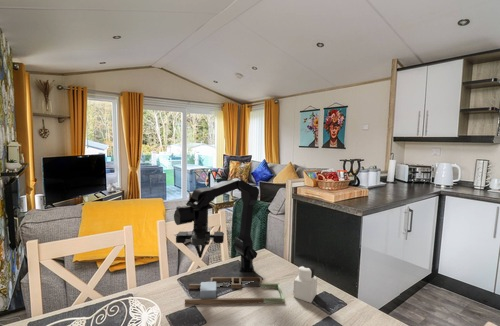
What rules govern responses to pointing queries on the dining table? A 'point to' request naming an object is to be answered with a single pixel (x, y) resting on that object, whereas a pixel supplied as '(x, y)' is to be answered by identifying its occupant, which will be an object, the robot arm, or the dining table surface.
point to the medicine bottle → (305, 283)
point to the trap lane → (220, 281)
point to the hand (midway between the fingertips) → (200, 257)
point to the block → (208, 290)
